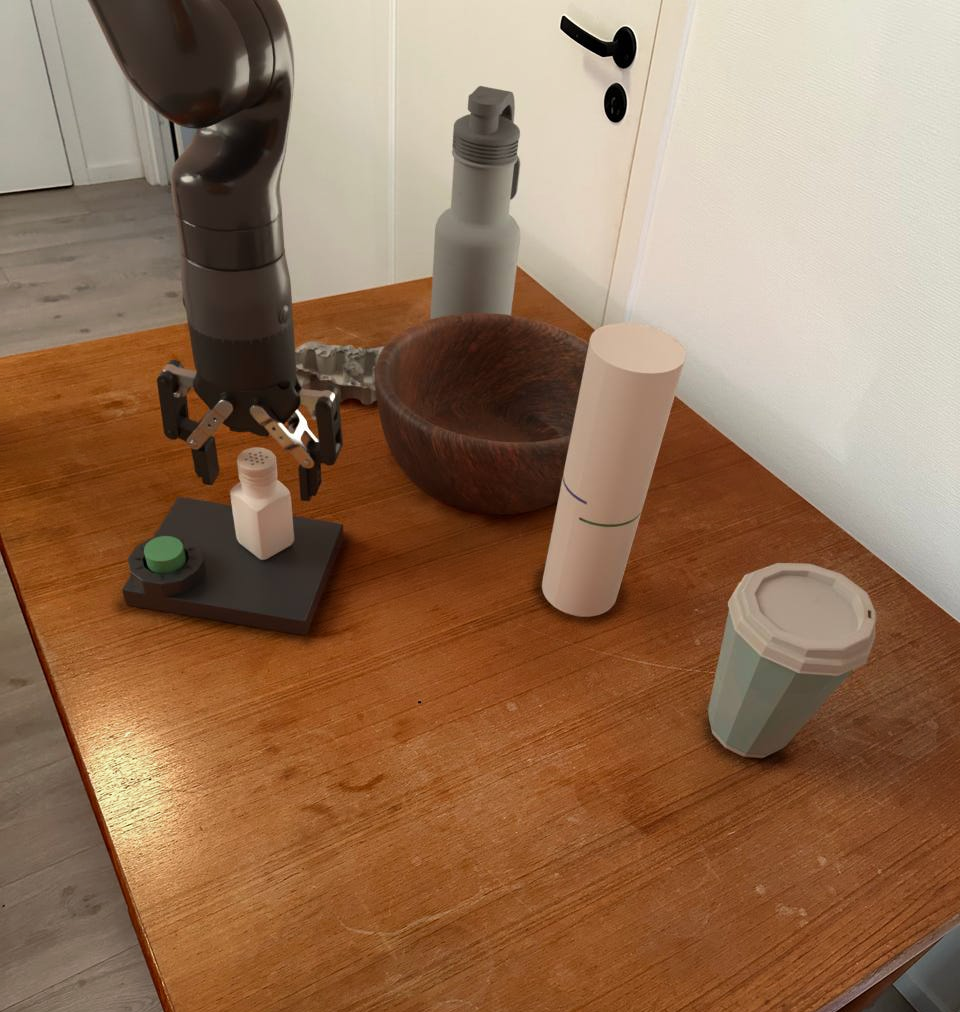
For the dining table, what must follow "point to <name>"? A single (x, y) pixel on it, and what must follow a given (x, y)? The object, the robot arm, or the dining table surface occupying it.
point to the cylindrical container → (610, 463)
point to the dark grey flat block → (236, 571)
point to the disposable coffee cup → (786, 653)
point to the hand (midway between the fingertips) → (259, 487)
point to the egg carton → (338, 369)
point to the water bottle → (479, 212)
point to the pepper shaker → (261, 505)
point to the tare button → (164, 555)
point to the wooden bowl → (481, 408)
